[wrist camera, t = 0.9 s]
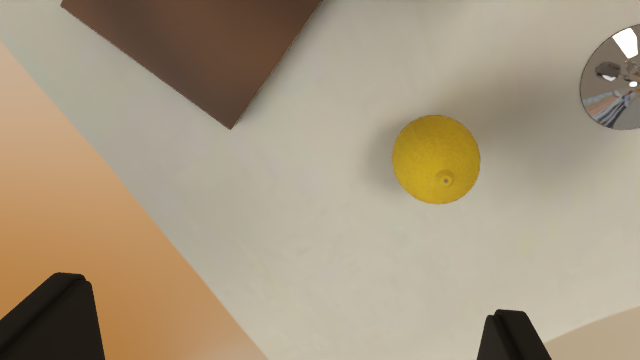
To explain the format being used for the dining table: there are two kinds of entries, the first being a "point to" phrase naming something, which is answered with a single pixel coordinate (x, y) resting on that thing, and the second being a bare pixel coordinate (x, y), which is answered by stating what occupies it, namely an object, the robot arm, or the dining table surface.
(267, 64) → the cutting board
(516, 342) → the robot arm
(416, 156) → the lemon
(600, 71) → the wine glass
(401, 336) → the dining table surface
